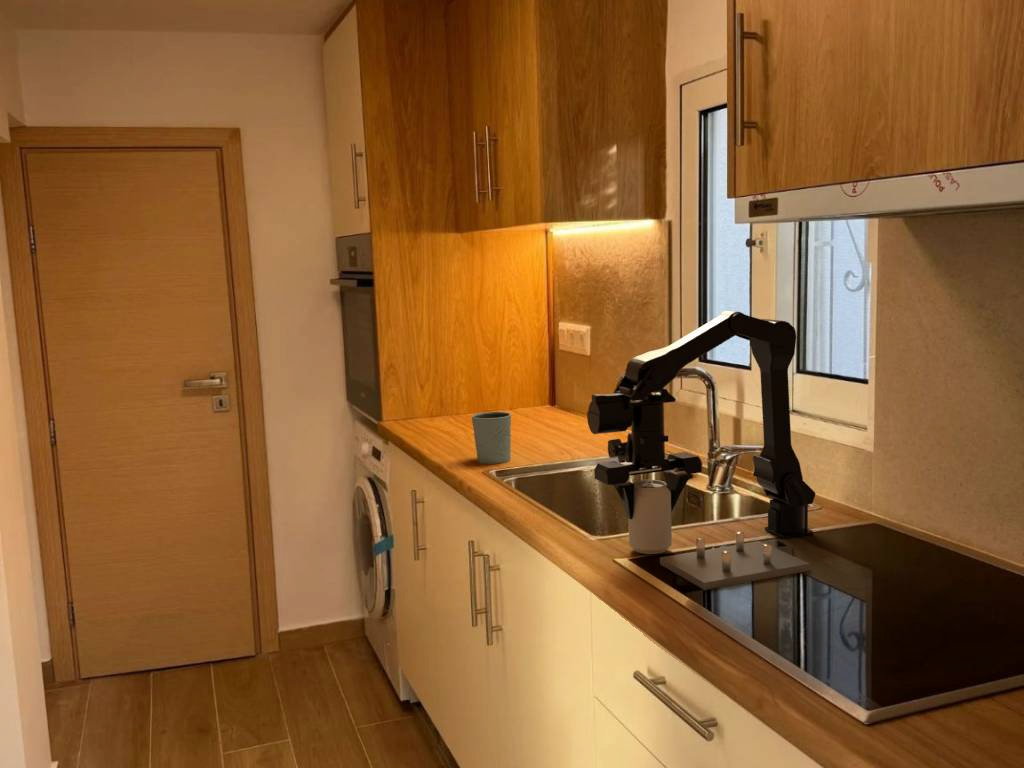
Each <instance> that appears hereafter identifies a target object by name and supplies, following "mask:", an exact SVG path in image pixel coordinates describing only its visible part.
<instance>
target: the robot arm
mask: <svg viewBox="0 0 1024 768" xmlns="http://www.w3.org/2000/svg"><path fill="white" fill-rule="evenodd" d="M735 336H736V337H737V338H741V339H744V340H747V341H749V345H750V348H751V349H750V350H751V353H752V355H753V358H754V359H755V362H756V363H757V366H758V367H759V373H760V389H761V391H760V394H761V407H762V408H761V409H762V410H761V411H762V429H763V447H762V450H761V452H760V454H754V455H753V457H752V461H753V465H754V470H753V473H752V476H753V477H755V478H756V482H757V484H758V485H759V486H760V487H761V488H762V490H763V492H764V494H765V496H766V497H769V498H771V499H769V508H768V509H767V526H764V531H767V532H768V533H771V534H774V535H776V536H778V537H780V538H783V539H788V538H789V539H791V538H796V537H801V536H808V535H813V534H814V530H812V529H810V528H809V505H812V504H813V503H814V499H815V497H816V492H815V490H813V489H812V487H811V486H810V485H808V484H807V483H806V482H805V481H804V478H803V473H802V468H801V463H800V460H799V459H798V456H797V454H796V452H795V450H794V449H793V446H792V445H793V444H792V431H791V428H792V427H791V415H790V414H791V411H790V409H791V407H790V388H789V367H790V365H791V362H792V360H793V358H794V356H795V352H796V345H797V330H796V329H795V327H794V326H793V325H792V324H791V323H790V322H787V321H786V320H779V319H769V318H757V317H755V316H750V315H748V314H744V313H743V312H741V311H736V310H735V311H734V310H724V311H722V312H721V313H720V314H719V315H718V316H716V317H715V318H713V319H711V320H710V321H708V322H707V323H705V324H703V325H701V326H700V327H698V328H697V329H695V330H693V331H692V332H690V333H688V334H686V335H685V336H683V337H681V338H680V339H678V340H676V341H674V342H673V343H671V344H670V345H668V346H665V347H661V348H660V349H659V348H658V349H655V350H650V351H647V352H645V353H642V354H639V355H637V356H635V357H632V358H631V359H630V360H629V361H628V362H627V364H626V368H625V374H624V375H623V377H622V379H621V380H620V381H619V383H618V384H617V386H616V387H615V389H614V391H613V393H608V394H607V393H606V394H601V393H595V394H594V393H593V394H592V395H591V401H590V403H589V404H588V409H587V410H588V411H586V419H587V424H588V427H589V428H588V429H589V431H590V432H591V433H592V435H598V434H599V435H601V434H609V433H619V432H620V433H621V432H626V431H627V430H628V428H631V429H630V431H631V432H628V433H627V436H626V438H627V441H624V442H622V440H621V438H614V439H610V440H608V441H607V453H608V457H609V458H610V459H614V458H615V459H616V458H617V460H618V461H615V460H613V461H605V462H598V463H597V464H596V466H595V468H594V479H595V480H597V481H598V482H601V483H603V484H605V485H606V486H607V485H608V486H609V485H610V486H613V488H614V489H615V491H616V492H617V495H618V496H619V499H620V501H621V504H622V506H623V508H624V512H625V514H626V517H627V519H628V520H629V519H632V518H633V511H634V484H633V482H630V481H631V480H630V478H631V477H632V476H637V475H645V474H652V473H653V474H654V473H659V472H660V473H661V472H662V473H663V476H664V479H665V483H666V484H667V486H666V487H667V488H668V489H669V490H670V492H671V514H672V513H673V511H674V508H675V506H676V504H677V502H678V500H679V497H680V496H681V494H682V491H683V490H684V488H685V487H686V484H687V483H688V481H689V480H691V479H693V477H694V474H700V473H703V472H704V471H703V461H702V459H701V457H700V456H699V455H695V454H693V453H689V452H687V451H683V452H681V451H680V452H676V453H675V452H674V453H669V454H668V456H667V457H666V451H665V449H666V448H665V447H666V446H665V445H666V443H665V442H669V435H667V434H666V433H665V404H666V403H675V402H676V400H677V399H676V398H675V396H673V395H672V394H670V392H669V391H668V389H667V388H665V387H666V386H668V385H669V384H670V383H671V382H673V380H674V379H676V378H677V376H678V374H679V373H680V371H681V370H683V368H684V367H686V366H687V365H688V364H690V363H692V362H695V360H697V359H698V358H700V357H702V356H704V355H705V354H707V353H709V352H710V351H711V350H713V349H715V348H717V347H718V346H721V345H722V344H723V343H725V342H727V341H729V340H730V339H732V338H733V337H735ZM634 388H635V389H634ZM625 462H627V463H631V464H624V463H625Z"/></svg>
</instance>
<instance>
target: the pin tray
mask: <svg viewBox="0 0 1024 768" xmlns="http://www.w3.org/2000/svg"><path fill="white" fill-rule="evenodd" d="M695 542H696V543H695V544H696V545H695V547H696V549H695V551H690V552H685V553H679V554H674V555H672V554H671V555H668V556H662V557H659V565H660V566H662V567H664V568H666V569H667V570H669V571H671V572H672V573H674V574H675V575H677V576H680V577H681V578H683V579H684V580H686V581H688V582H690V583H691V584H693V585H695V586H696V587H699V588H700V589H702V590H704V591H706V590H713V589H718V588H722V587H723V588H724V587H729V586H733V585H734V586H735V585H739V584H744V583H750V582H754V581H761V580H766V579H773V578H776V577H783V576H788V575H794V574H798V573H799V574H800V573H804V572H810V568H811V567H810V566H811V565H810V563H809V562H807V561H805V560H802V559H800V558H799V557H795V556H794V555H791V554H790V553H787V552H786V551H784V550H783V551H782V550H780V549H779V548H776V547H774V546H772V544H771V543H765V542H762V541H760V540H758V541H757V540H756V541H752V542H745V532H744V531H735V544H732V545H725V546H722V547H721V546H720V547H715V548H709V549H706V548H705V547H706V546H705V545H706V539H705V538H703V537H697V538H696V541H695Z"/></svg>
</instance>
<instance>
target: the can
mask: <svg viewBox="0 0 1024 768" xmlns="http://www.w3.org/2000/svg"><path fill="white" fill-rule="evenodd" d="M632 483H633V484H634V511H633V518H632V519H629V518H628V545H629V547H631V548H632V549H633V551H634V552H637V553H639V554H646V555H647V554H648V555H654V554H655V555H656V554H662V553H665V552H667V551H668V549H669V548H670V547H671V546H672V545H673V542H672V541H673V540H672V539H673V538H672V537H673V536H672V534H673V533H672V532H673V531H672V513H671V492H670V490H669V489H668V488H667V487H666V486H667V484H666V481H663V480H657V479H641V480H636V481H633V482H632Z"/></svg>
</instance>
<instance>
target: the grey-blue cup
mask: <svg viewBox="0 0 1024 768" xmlns="http://www.w3.org/2000/svg"><path fill="white" fill-rule="evenodd" d="M511 418H512V413H511V412H508V411H507V412H506V411H487V412H486V411H485V412H479V413H476V414H472V415H471V423H472V427H473V429H472V430H473V437H474V443H475V444H474V445H475V450H476V457H477V458H476V459H477V462H478V463H480V464H485V465H496V464H498V463H499V464H504V462H505V463H508V462H509V461H511V459H512V458H511V453H512V451H511V449H512V447H511V443H512V442H511V441H512V438H511V437H512V434H511V433H512V431H511V425H512V419H511Z"/></svg>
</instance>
